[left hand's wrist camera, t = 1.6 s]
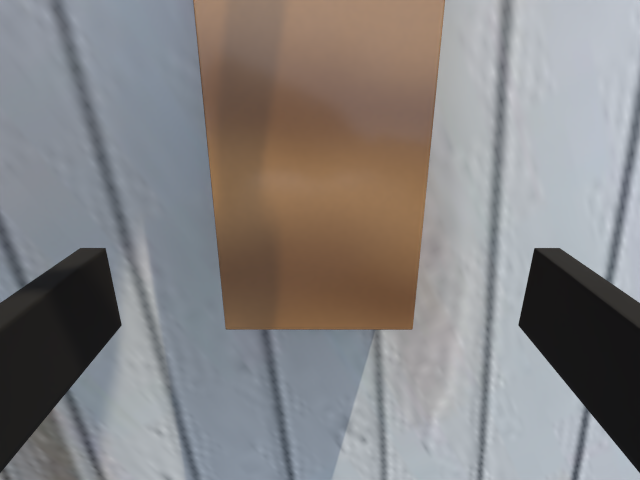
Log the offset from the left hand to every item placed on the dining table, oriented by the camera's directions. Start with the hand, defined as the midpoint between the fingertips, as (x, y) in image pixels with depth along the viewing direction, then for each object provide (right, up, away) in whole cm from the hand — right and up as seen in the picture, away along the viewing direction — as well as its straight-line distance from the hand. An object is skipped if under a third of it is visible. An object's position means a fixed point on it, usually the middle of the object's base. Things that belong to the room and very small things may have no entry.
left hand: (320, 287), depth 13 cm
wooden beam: (0, +32, +2) cm, 32 cm away
